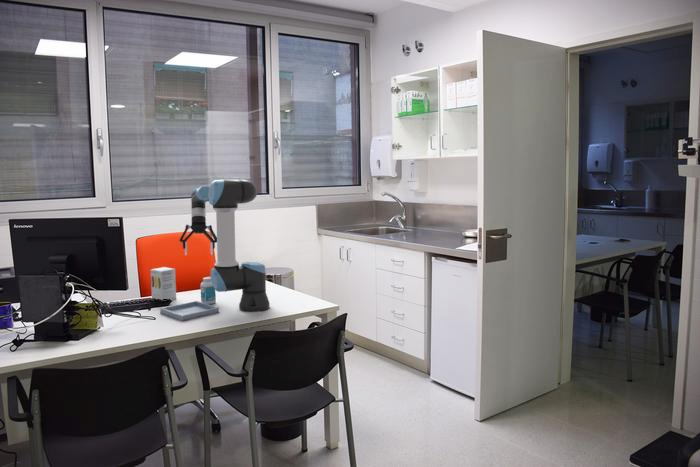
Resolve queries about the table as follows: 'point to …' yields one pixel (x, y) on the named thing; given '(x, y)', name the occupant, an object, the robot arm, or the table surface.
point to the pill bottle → (207, 291)
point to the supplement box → (163, 283)
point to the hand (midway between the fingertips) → (199, 254)
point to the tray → (189, 310)
